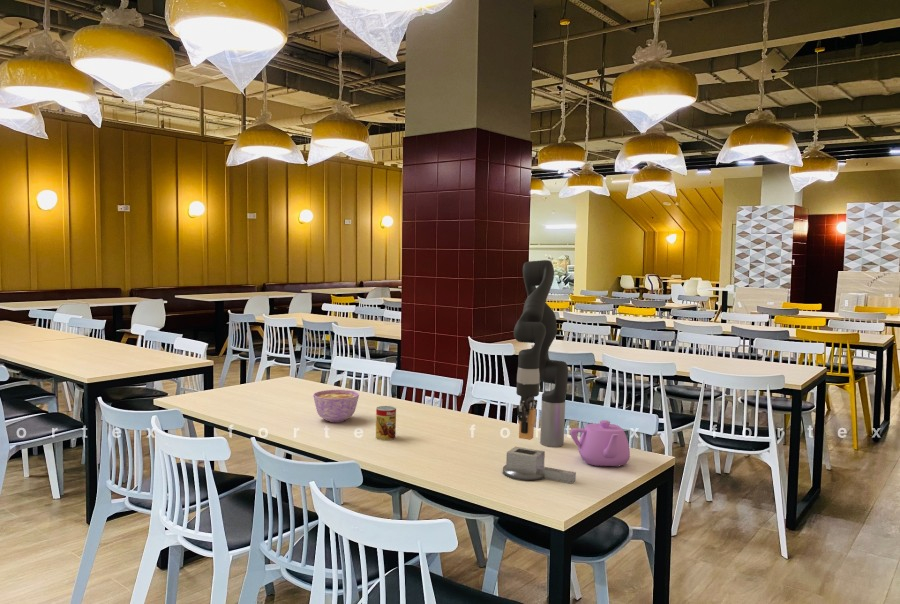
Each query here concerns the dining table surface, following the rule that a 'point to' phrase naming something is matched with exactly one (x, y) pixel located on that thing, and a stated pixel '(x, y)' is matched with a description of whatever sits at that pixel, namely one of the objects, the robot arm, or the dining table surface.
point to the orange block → (530, 426)
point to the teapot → (602, 444)
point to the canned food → (385, 422)
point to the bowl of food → (336, 404)
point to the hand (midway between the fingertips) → (526, 431)
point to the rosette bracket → (533, 467)
